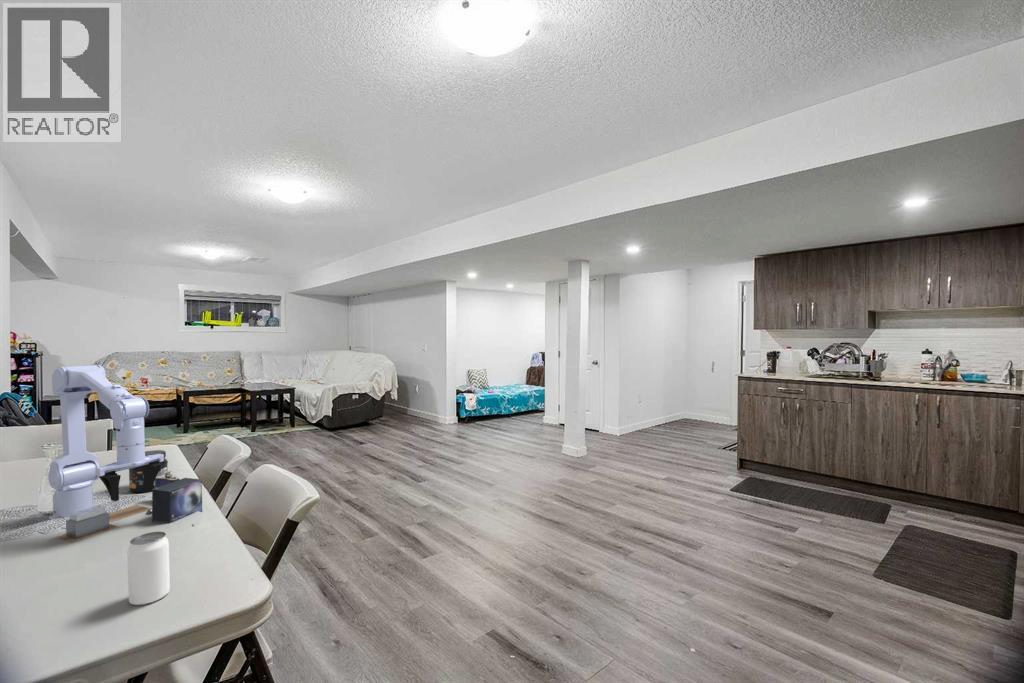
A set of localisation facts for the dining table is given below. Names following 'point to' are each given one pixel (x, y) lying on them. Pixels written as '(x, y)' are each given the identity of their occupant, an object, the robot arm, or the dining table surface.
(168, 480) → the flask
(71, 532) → the block
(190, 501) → the small box
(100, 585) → the dining table surface
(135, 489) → the supplement container
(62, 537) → the stand
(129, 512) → the stand
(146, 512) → the loose bolt
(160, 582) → the can
